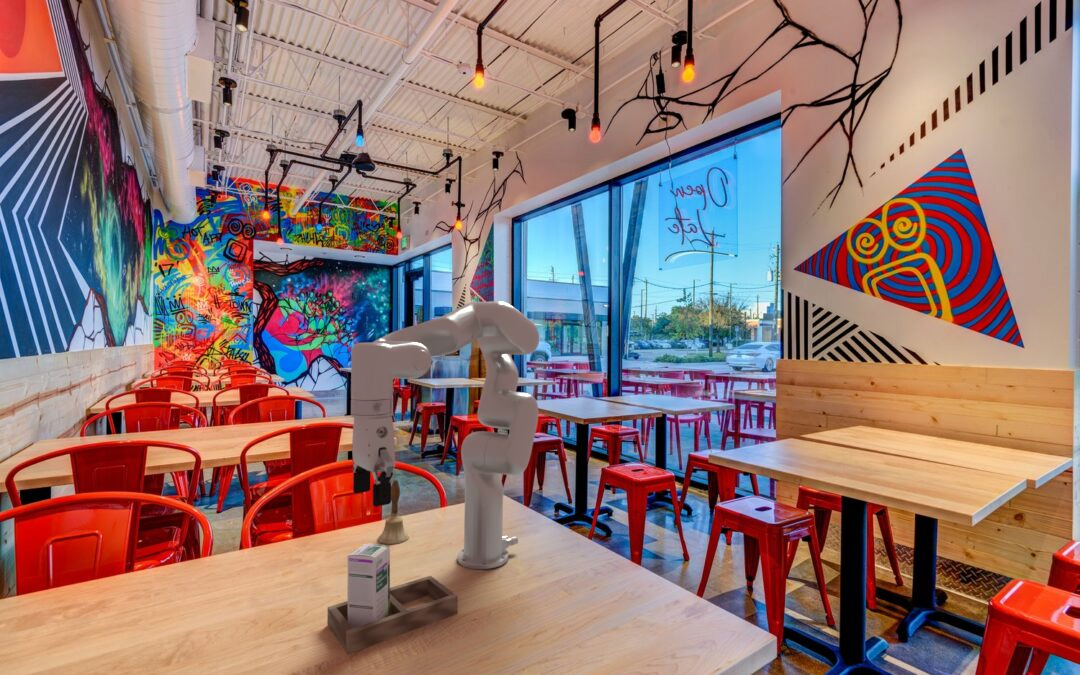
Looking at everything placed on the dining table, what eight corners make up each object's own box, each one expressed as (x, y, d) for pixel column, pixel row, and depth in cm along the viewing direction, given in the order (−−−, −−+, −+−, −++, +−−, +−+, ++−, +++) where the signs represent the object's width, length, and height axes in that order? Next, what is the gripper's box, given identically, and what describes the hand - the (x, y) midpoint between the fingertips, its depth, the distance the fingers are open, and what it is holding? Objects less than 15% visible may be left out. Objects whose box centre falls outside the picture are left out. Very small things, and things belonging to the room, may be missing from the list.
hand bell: (410, 532, 146) (411, 475, 146) (408, 543, 138) (408, 483, 138) (379, 533, 145) (380, 476, 145) (375, 545, 137) (376, 484, 137)
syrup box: (375, 636, 94) (376, 556, 95) (345, 632, 96) (347, 553, 96) (390, 620, 100) (391, 544, 100) (362, 616, 101) (363, 541, 101)
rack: (430, 591, 112) (430, 575, 112) (457, 613, 103) (457, 596, 103) (327, 625, 98) (327, 607, 98) (348, 654, 90) (348, 633, 90)
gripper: (410, 411, 94) (410, 506, 94) (373, 401, 107) (373, 484, 107) (370, 415, 89) (369, 515, 89) (336, 404, 102) (336, 491, 102)
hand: (371, 498), depth 98 cm, fingers open, 9 cm apart
